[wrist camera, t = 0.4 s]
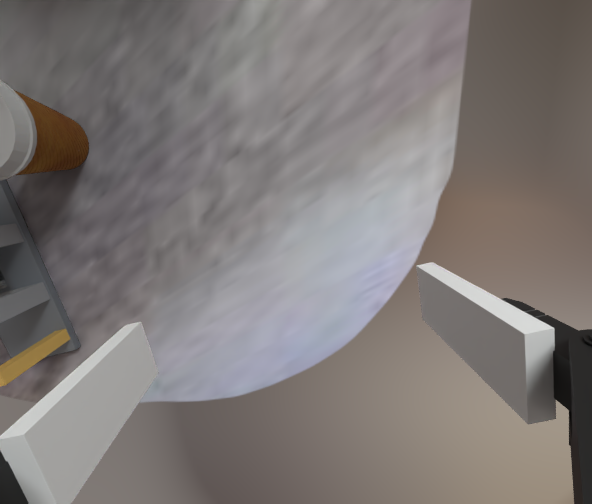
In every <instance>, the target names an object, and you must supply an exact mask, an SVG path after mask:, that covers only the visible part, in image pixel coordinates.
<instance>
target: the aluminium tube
mask: <svg viewBox="0 0 592 504" xmlns="http://www.w3.org/2000/svg"><path fill="white" fill-rule="evenodd" d="M5 287H7V284H6V282H5V278H4V276H3V274H2V272H1V270H0V289H3V288H5Z"/></svg>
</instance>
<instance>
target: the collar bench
mask: <svg viewBox="0 0 592 504" xmlns="http://www.w3.org/2000/svg"><path fill="white" fill-rule="evenodd" d="M0 270H1V272H2V274H3V276H4V278H5V282H6V284H7V287H5V288H3V289H0V338H1V340H2V342H3V344H4V346H5V347H6V349H7V351H8V353H9V355H10V357H11V359H10V360H8V361H7V362H5V363H4V364H2V365H1V366H0V386H4V385H7V384H8V383H9V382H11V381H12V380H14V379H15V378H16V377H18V376H19V375H21V374H22V373H23V372H25V371H26V370H28V369H29V368H30V367H32V366H33V365H35V364H36V363H37V362H39V361H40V360H42V359H43V358H45V357H49V356H53V355H57V354H61V353H65V352H69V351H73V350H76V349H78V348H79V347H80V346H81V345H80V343H79V341H78V338H77V336H76V334H75V332H74V330H73V327H72V325H71V323H70V321H69V319H68V316H67V314H66V312H65V310H64V307H63V305H62V303H61V301H60V299H59V296H58V294H57V292H56V290H55V288H54V285H53V283H52V281H51V279H50V276H49V274H48V272H47V270H46V268H45V265H44V263H43V261H42V259H41V257H40V254H39V252H38V250H37V248H36V246H35V243H34V241H33V239H32V237H31V234H30V232H29V230H28V228H27V226H26V223H25V221H24V219H23V217H22V215H21V212H20V210H19V208H18V206H17V203H16V201H15V199H14V197H13V195H12V192H11V190H10V188H9V186H8V184H7V181H6V179H5V180H1V181H0Z"/></svg>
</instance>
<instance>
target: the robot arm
mask: <svg viewBox="0 0 592 504" xmlns="http://www.w3.org/2000/svg"><path fill="white" fill-rule="evenodd" d="M416 268H417V276H418V284H419V292H420V300H421V310H422V318H423V320H424V321H425V322H426V323H427V324H428V325H429V326H430V327H431V328H432V329H433V330H434V331H435V332H436V333H437V334H438V335H439V336H440V337H441V338H442V339H443V340H444V341H445V342H446V343H447V344H448V345H449V346H450V347H451V348H452V349H453V350H454V351H455V352H456V353H457V354H458V355H459V356H460V357H461V358H462V359H463V360H464V361H465V362H466V363H467V364H468V365H469V366H470V367H471V368H472V369H473V370H474V371H475V372H476V373H477V374H478V375H479V376H480V377H481V378H482V379H483V380H484V381H485V382H486V383H487V384H488V385H489V386H490V387H491V388H492V389H493V390H494V391H495V392H496V393H497V394H498V395H499V396H500V397H501V398H502V399H503V400H504V401H505V402H506V403H507V404H508V405H509V406H510V407H511V408H512V409H513V410H514V411H515V412H516V413H517V414H518V415H519V416H520V417H521V418H522V419H523V420H524V421H525V422H526V423H527V424H532V423H537V422H543V421H548V420H552V419H556V403H555V402H556V401H555V399H556V400H557V401H558V402H560V403H561V404H562V405H563V406H565V407H566V408H567V409H568V410H569V445H570V446H571V458H572V474H573V488H574V489H573V490H574V504H592V330H580V331H578V330H576V329H574V328H572V327H570V326H568V325H566V324H564V323H562V322H560V321H558V320H556V319H554V318H552V317H550V316H548V315H545V314H544V313H542V312H540V311H538V310H535V309H534V308H532V307H531V306H529V305H527V304H524V303H523V302H519V301H515V300H512V299H508V298H504V299H499V298H498V297H496V296H494V295H492V294H490V293H488V292H486V291H485V290H483V289H481V288H479V287H477V286H475V285H473V284H472V283H470V282H468V281H466V280H464V279H462V278H460V277H459V276H457V275H455V274H453V273H451V272H449V271H448V270H446V269H444V268H442V267H440V266H438V265H436V264H435V263H427V264H422V265H417V266H416ZM158 373H159V372H158V369H157V366H156V364H155V361H154V358H153V355H152V352H151V349H150V346H149V343H148V340H147V337H146V334H145V331H144V329H143V326H142V323H141V322H138V323H133V324H128V325H125V326H124V327H123V328H121V329H120V330H119V331H118V332H117V333H116V334H115V335H114V336H112V337H111V338H110V339H109V340H108V341H107V342H106V343H105V344H103V345H102V346H101V347H100V348H99V349H98V350H97V351H95V352H94V353H93V354H92V355H91V356H90V357H89V358H88V359H86V360H85V361H84V362H83V363H82V364H81V365H80V366H79V367H77V368H76V369H75V370H74V371H73V372H72V373H71V374H70V375H68V376H67V377H66V378H65V379H64V380H63V381H62V382H60V383H59V384H58V385H57V386H56V387H55V388H54V389H53V390H51V391H50V392H49V393H48V394H47V395H46V396H45V397H44V398H42V399H41V400H40V401H39V402H38V403H37V404H36V405H35V406H34V407H32V408H31V409H30V410H29V411H28V412H27V413H26V414H25V415H23V416H22V417H21V418H20V419H19V420H18V421H16V422H15V423H14V424H13V425H12V426H11V427H10V428H9V429H8V430H6V431H5V432H4V433H3V434H2V435H1V436H0V504H71V503H72V502H73V500H74V499H75V497H76V496H77V494H78V493H79V491H80V490H81V488H82V487H83V485H84V484H85V482H86V480H87V479H88V477H89V476H90V475H91V473H92V472H93V470H94V469H95V467H96V466H97V464H98V463H99V461H100V460H101V458H102V457H103V455H104V454H105V452H106V451H107V449H108V448H109V446H110V445H111V443H112V442H113V440H114V439H115V437H116V436H117V434H118V433H119V431H120V430H121V428H122V427H123V425H124V423H125V422H126V421H127V419H128V418H129V416H130V415H131V413H132V412H133V410H134V409H135V407H136V406H137V404H138V403H139V401H140V400H141V398H142V397H143V395H144V394H145V392H146V391H147V389H148V388H149V387H150V385H151V384H152V382H153V381H154V379H155V378H156V376H157V375H158Z"/></svg>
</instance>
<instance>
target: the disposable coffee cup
mask: <svg viewBox="0 0 592 504" xmlns="http://www.w3.org/2000/svg"><path fill="white" fill-rule="evenodd" d="M88 150H89V143H88V139H87V136H86V134H85V132H84V130H83V129H82V128H81V126H80V125H79V124H78V123H76V122H75V121H74V120H72V119H70V118H68V117H66V116H64V115H62V114H60V113H58V112H57V111H55V110H53V109H51V108H49V107H47V106H45V105H43V104H41V103H39V102H37V101H35V100H33V99H31V98H29V97H27V96H25V95H23V94H21V93H19V92H17V91H15V90H13V89H12V88H11V87H10V86H9V85H7V84H6V83H5V82H3V81H2V80H0V181H1V180H5V179H8V178H10V177H12V176H14V175H23V174H32V173H40V172H49V171H58V170H68V169H73V168H76V167H78V166H79V165H81V164H82V163H83V162H84V161H85V159H86V157H87V155H88Z"/></svg>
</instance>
